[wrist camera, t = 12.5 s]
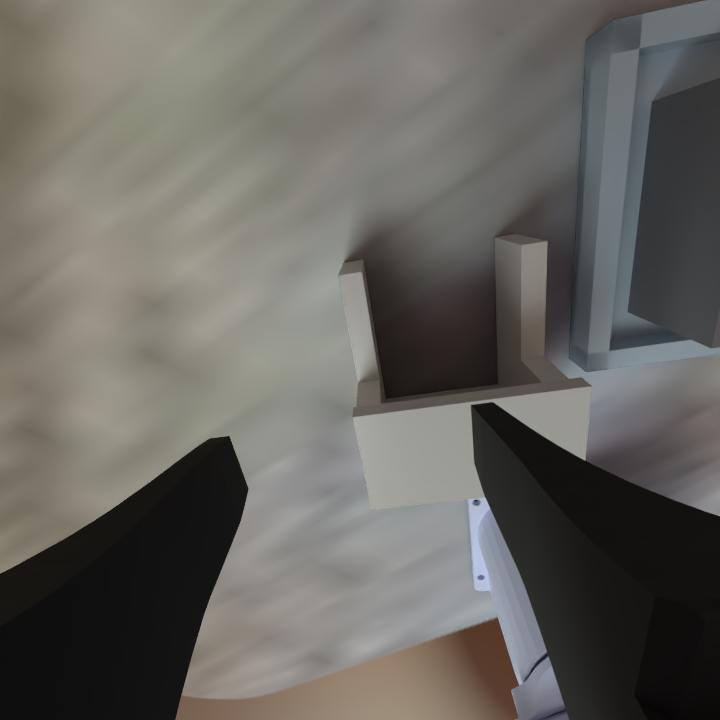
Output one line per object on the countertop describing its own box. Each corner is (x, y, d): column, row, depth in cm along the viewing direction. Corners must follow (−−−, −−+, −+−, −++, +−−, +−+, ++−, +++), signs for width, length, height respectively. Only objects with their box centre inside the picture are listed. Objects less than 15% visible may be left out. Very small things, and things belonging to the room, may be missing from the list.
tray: (746, 333, 19) (781, 346, 18) (568, 358, 20) (586, 372, 19) (833, -13, 14) (895, -41, 12) (586, 39, 15) (613, 19, 13)
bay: (516, 397, 21) (583, 487, 15) (371, 415, 22) (371, 509, 15) (515, 233, 18) (603, 253, 11) (343, 262, 19) (328, 297, 12)
